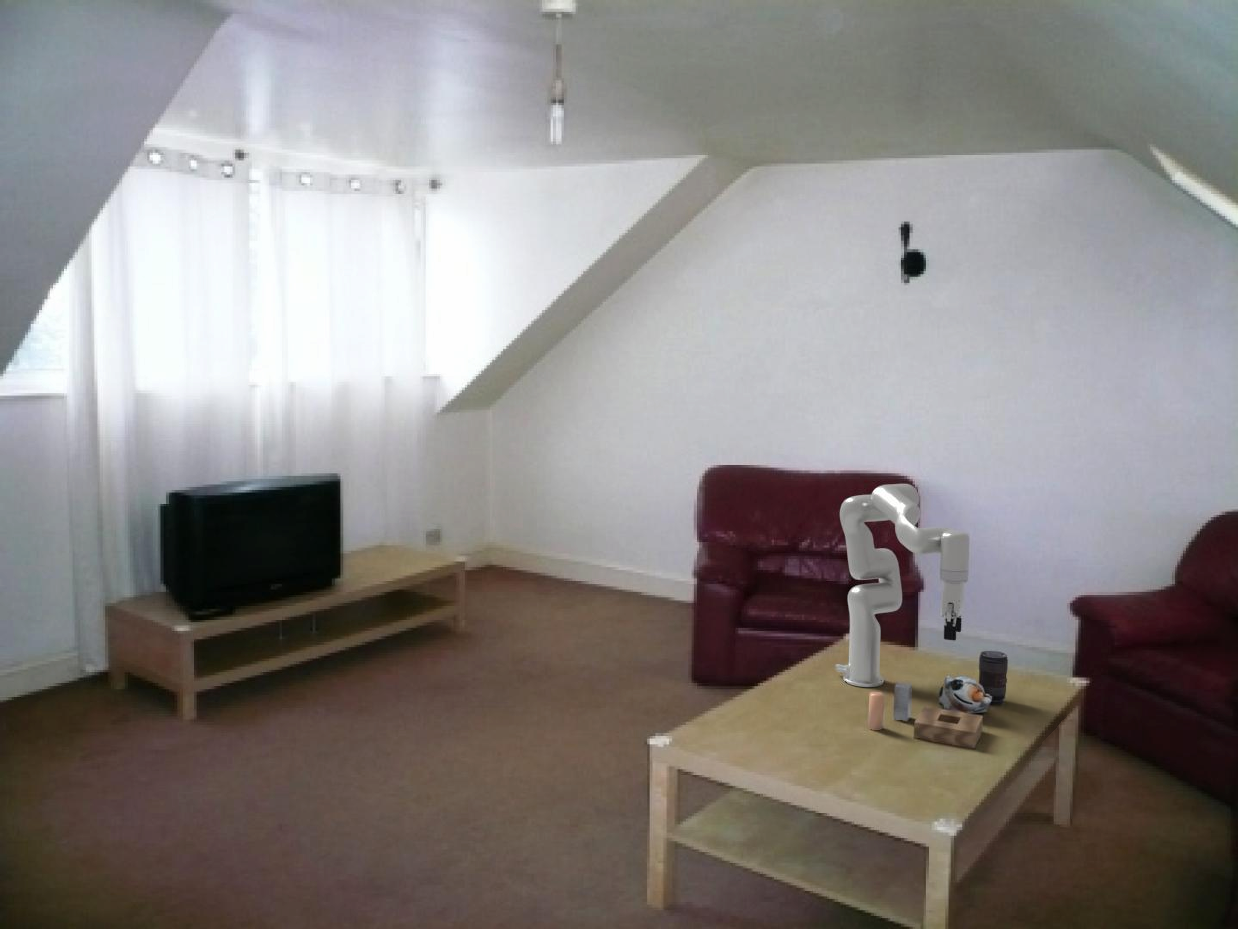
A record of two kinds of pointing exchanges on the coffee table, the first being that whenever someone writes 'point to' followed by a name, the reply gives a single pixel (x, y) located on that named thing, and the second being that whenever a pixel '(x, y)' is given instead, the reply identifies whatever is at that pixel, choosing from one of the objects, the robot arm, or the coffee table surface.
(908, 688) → the square bit
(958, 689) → the lucky cat figurine
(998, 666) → the camera lens
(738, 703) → the coffee table surface
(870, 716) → the round bit
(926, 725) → the bore block
